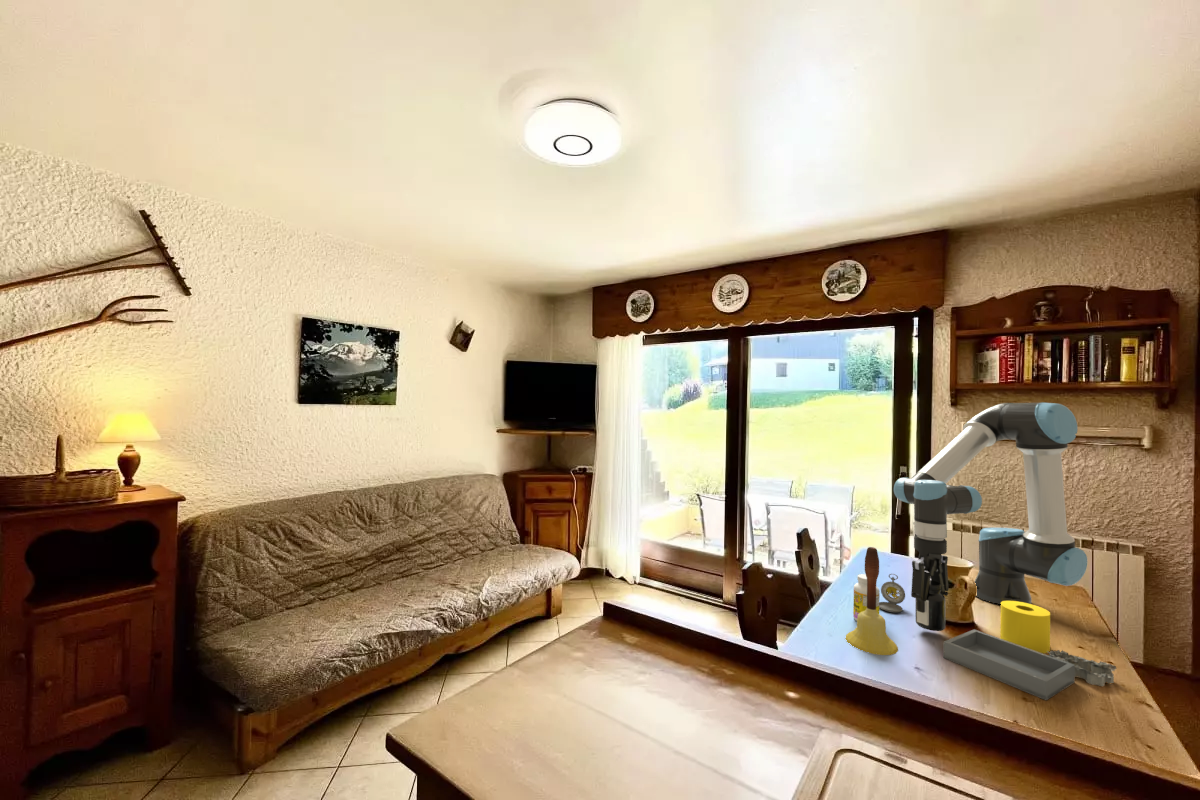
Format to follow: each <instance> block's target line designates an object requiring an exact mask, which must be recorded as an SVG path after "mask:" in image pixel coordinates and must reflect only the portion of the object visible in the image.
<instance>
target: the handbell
mask: <svg viewBox="0 0 1200 800" xmlns="http://www.w3.org/2000/svg"><path fill="white" fill-rule="evenodd" d="M865 553H866V554H865V556H864V557H865V558H864V574H866V577H867V608H866V610H865V611H862V612H861V613H859V614H858V617H857V621H856V627H855V628H854V629H853V630H852V631H849V632H848V633H846V635H845V636H846V638H845V637H844V640H845V639H846V640H847V641H846V640H845V641H846V643H847V642H848V643H850V644H851V645H852V646H851V645H850V644H849V645H850V646H851V647H853V646H854V647H853V648H855V647H856V648H858V649H860V650H859V651H861V650H863V651H862V652H864V651H865V652H864V653H867V652H869V653H868V654H871V655H872V654H873V655H879V656H892V655H894V654H897V653H898V652H899V647H898V646H897V644H896V643H895V641H894V640H893V639H891V638H890V637H889V635H888V634H887V626H886V624H887V623H886V620H885V618H884V616H882V615H881V614H880V613H879V614H878V613H877V610H876V586H877V583H878V582H877V581H878V577H879V574H880V559H879V552H878V550H877V548H876V547H874V546H868V547H867V549H866V552H865ZM848 643H847V644H848ZM856 648H855V649H856ZM858 649H857V650H858Z"/></svg>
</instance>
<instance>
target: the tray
mask: <svg viewBox="0 0 1200 800" xmlns="http://www.w3.org/2000/svg"><path fill="white" fill-rule="evenodd" d="M942 657H943V658H944V659H945V660H948V661H951V662H953V663H955V664H958V665H960V666H963V667H965V668H967V669H969V670H971V671H974V672H977V673H979V674H981V675H984V676H986V677H989V678H992V679H994V680H996V681H998V682H1001V683H1004V684H1005V685H1008V686H1010V687H1012V688H1015V689H1017V690H1020V691H1023V692H1024V693H1027V694H1030V695H1031V696H1034V697H1037V698H1039V699H1042V700H1044V701H1048V700H1049V699H1051V698H1052V697H1054V696H1055V695H1057V694H1059V693H1060V692H1062V691H1063V690H1066V689H1067V688H1068V687H1070V686H1072V685H1073V684H1074V683H1075V682H1076V681H1075V665H1074V664H1071V663H1068V662H1065V661H1063V660H1060V659H1057V658H1054V657H1051V656H1049V654H1047V653H1040V652H1037V651H1034V650H1031V649H1029V648H1026V647H1023V646H1020V645H1017V644H1014V643H1012V642H1009V641H1006V640H1003V639H1000V637H998V636H995V635H991V634H988V633H986V632H984V631H983V632H982V631H980V630H977V629H975V628H974V629H972V630H969V631H967V632H964V633H961V634H959V635H957V636H954V637H952V638H951V637H950V638H949V639H947V640H944V641H943V655H942Z"/></svg>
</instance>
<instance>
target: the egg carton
mask: <svg viewBox="0 0 1200 800" xmlns="http://www.w3.org/2000/svg"><path fill="white" fill-rule="evenodd" d="M1047 652H1048V651H1047ZM1047 654H1048V656H1051V657H1054V658H1057V659H1060V660H1063V661H1065V662H1068V663H1071V664H1074V665H1075V677H1076V678H1080V679H1084V680H1085V682H1086V683H1087V684H1089V685H1095V686H1099V687H1105V683H1106V682H1107V684H1109V683H1115V681H1114V680H1115V677H1114V673H1113V672H1115V671H1116V670H1117V666H1115V665H1113V664H1111V663H1107V662H1105V661H1102V660H1101V661H1099V662H1097V661H1095V660H1093V659H1090V660H1089V659H1087V658H1086V659H1085V658H1084V657H1083V656H1082V657H1081V656H1077V655H1074V654H1069V652H1067V651H1065V650H1063V649H1062V650H1060V649H1057V650H1051V649H1050V652H1048V653H1047Z"/></svg>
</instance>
